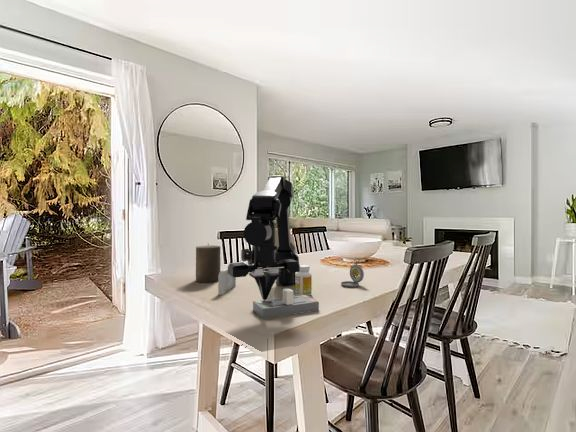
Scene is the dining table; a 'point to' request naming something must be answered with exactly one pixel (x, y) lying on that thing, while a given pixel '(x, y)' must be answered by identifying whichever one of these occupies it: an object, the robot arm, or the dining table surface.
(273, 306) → the panel
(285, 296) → the block
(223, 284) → the light switch
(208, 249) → the pillar candle
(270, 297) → the block
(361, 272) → the pocket watch
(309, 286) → the supplement bottle
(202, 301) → the dining table surface
